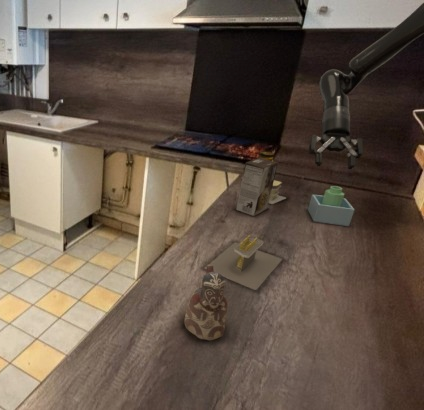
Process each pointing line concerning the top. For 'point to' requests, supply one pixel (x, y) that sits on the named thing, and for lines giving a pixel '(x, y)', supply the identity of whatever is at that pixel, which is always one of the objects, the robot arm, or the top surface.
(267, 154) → the condiment
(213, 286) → the figurine
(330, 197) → the bottle
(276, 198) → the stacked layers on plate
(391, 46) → the robot arm
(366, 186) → the top surface
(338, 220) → the case
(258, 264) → the platform
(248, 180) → the coffee box
